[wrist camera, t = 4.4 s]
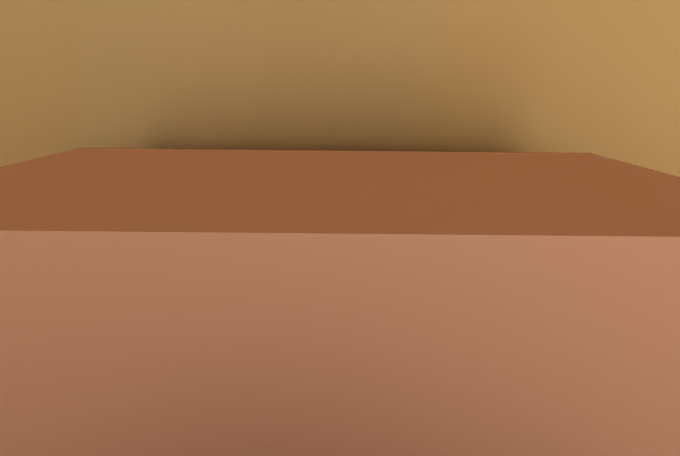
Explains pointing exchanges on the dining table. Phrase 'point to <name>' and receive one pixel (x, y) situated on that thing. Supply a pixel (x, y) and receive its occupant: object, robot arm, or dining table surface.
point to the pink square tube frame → (338, 304)
